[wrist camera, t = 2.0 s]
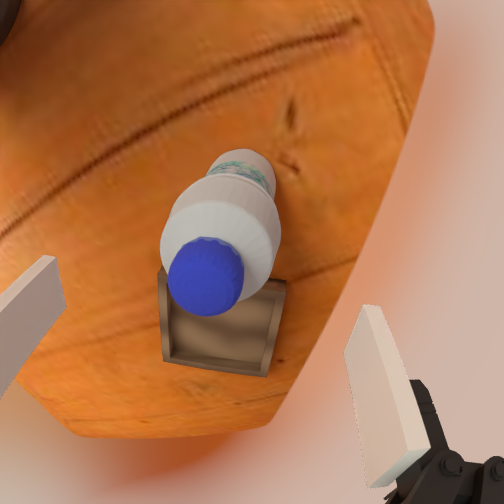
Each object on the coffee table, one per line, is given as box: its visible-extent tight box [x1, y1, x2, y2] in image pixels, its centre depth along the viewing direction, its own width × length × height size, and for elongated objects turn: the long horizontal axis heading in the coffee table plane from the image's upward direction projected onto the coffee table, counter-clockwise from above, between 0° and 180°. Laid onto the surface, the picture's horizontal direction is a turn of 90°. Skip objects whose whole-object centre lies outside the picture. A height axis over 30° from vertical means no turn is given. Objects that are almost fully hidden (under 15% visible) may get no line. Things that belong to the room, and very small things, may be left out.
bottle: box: [160, 149, 281, 317], centre depth 22 cm, size 7×7×20 cm
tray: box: [157, 265, 286, 377], centre depth 38 cm, size 14×14×2 cm
